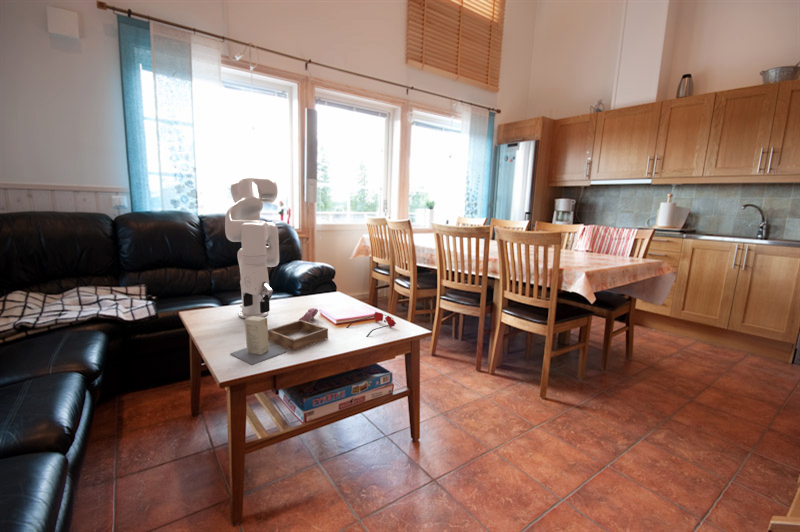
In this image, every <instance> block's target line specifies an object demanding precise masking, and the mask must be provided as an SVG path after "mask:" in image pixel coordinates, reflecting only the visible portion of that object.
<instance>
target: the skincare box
mask: <svg viewBox="0 0 800 532" xmlns="http://www.w3.org/2000/svg"><path fill="white" fill-rule="evenodd" d="M244 325H245V341H246V348H247V352H248V353H253V354H259V355H262V354H263V353H265V352H267V351H269V344H270V343H269V342H270V341H268V330H269V327H268V317H266V316H264V317H258V316H252V317H249V318H247V319H246V318H244Z"/></svg>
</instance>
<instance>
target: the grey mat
mask: <svg viewBox="0 0 800 532" xmlns="http://www.w3.org/2000/svg"><path fill="white" fill-rule="evenodd" d="M285 353H286V350H284V349H281V348H279V347H276V346H274V345H271V344H270V343H269V351H267V352H265V353H263V354H262V355H259V354H253V353H248V352H247V347H245V348H242V349H238V350H237V351H233V352H230V355H231V356H233V357H235V358H237V359H238V360H239V359H240V360H241V361H244V362H245V363H247V362H248V364H249V363H250V364H249V365H251V364H252V365H251V366H254V365H255V363H256V364H259V363H261V362H264V361H266V360H270V359H272V358H275V357H277V356H279V355H282V354H285ZM274 356H275V357H274ZM258 362H259V363H258Z"/></svg>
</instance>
